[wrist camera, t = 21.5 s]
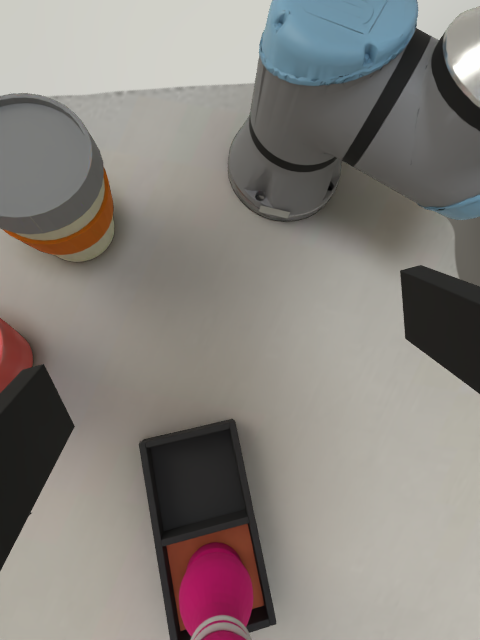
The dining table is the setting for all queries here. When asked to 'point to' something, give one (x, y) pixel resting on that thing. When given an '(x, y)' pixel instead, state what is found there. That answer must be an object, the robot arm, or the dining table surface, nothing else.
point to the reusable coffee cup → (52, 180)
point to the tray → (202, 511)
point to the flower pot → (12, 354)
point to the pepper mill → (216, 595)
